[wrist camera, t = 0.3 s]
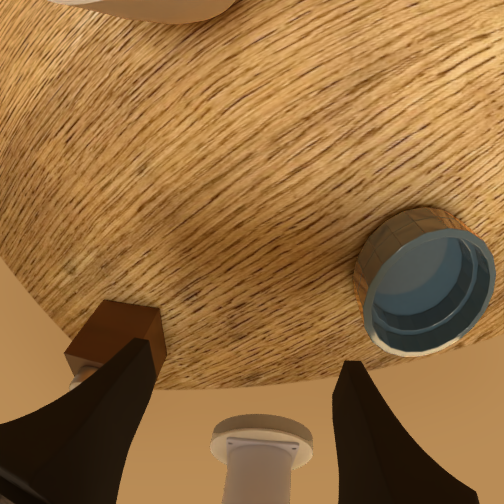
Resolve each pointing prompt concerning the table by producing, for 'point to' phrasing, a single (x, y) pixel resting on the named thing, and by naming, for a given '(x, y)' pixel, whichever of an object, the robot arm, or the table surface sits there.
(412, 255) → the bowl
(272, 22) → the table surface
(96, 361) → the brown block
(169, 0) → the cup
